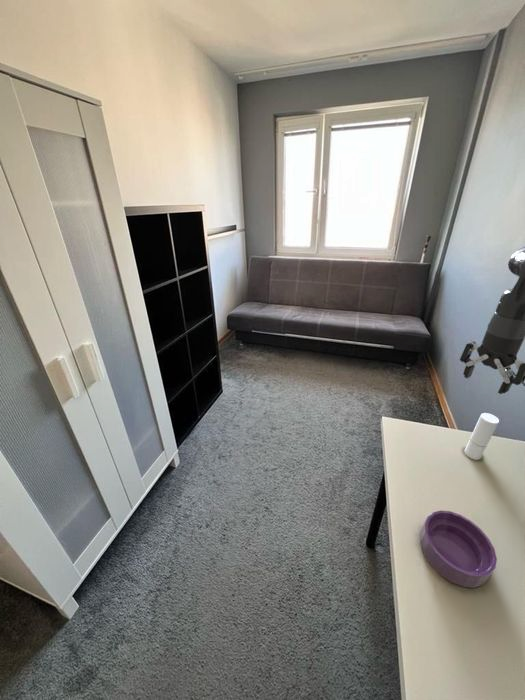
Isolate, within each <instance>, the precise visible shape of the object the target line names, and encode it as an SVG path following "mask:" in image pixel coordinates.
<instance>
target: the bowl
mask: <svg viewBox="0 0 525 700" xmlns="http://www.w3.org/2000/svg"><path fill="white" fill-rule="evenodd" d="M419 545H420V547H421V550H422V553H423V555H424V557H425V558H426V560H427V562H428V563H429V564H430V565H431V567H432V568H433V569H434V570H435V571H436V572H437V573H438V574H439V575H440V576H442V577H443V578H445V579H446V580H447V581H449V582H451V583H453V584H456V585H458V586H459V587H464V588H471V589H472V588H477V587H481V586H482V585H484V583H486V581H487V580H488V579H489V577H490V576H491V575H492V574H493V572H494V570H496V568H497V561H498V558H497V554H496V550H495V547H494V545H493V544H492V542H491V540H490V538H489V537H488V536H487V535H486V534H485V532H484V531H483V530H482V529H481V528H480V527H479V526H478V525H476V523H474V522H473V521H472V520H471V519H469V518H467V517H465V516H463V515H462V514H460V513H457V512H454V511H451V510H442V509H441V510H437V511H433V512H431V513H430V514H429V515H428V516H427V517H426V519H425V522H424V523H423V526H422V528H421V531H420V533H419Z"/></svg>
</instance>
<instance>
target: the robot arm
mask: <svg viewBox="0 0 525 700" xmlns="http://www.w3.org/2000/svg"><path fill="white" fill-rule="evenodd" d="M507 268H508V270H509V271H510V272H511V274H513V275H514V276H516V277H518V279H517V281H516V283H515V284H514V286H513V287H512V288H508V289H506V290H505V291H504V292H502V295H500V296H501V297H500V298H499V301H498V304H497V306H496V309H495V311H494V313H493V315H492V316H491V318H490V321H489V322H488V324H487V328H486V331H485V333H484V336H483V339H482V341H481V344H477V342H476V341H471V342H468V343H466V344H465V347H464V348H463V351H462V354H461V356H460V359H459V361H460V362H461V363H464V364H465V367H464V370H463V375H464V376H463V378H465V379H469V378H471V376H472V374H473V372H474V370H475V367H476V364H478V363H480V362H481V363H482V365H484V366H486V367H490V368H491V369H493V370H498V373H499V375H500V376H501V377H502V379H503V381H502V383H501V385H500V387H499V389H498V391H497V394H500V395H502V394H506V393H508V392H509V391H510V389H511V388H512V385H513V384H514V385H516V386H519V385H521V384H522V385H523V386H524V387H525V361H524V360H520V359H518V356H517V355H518V353H519V351H520V350H521V347H522V345H523V343H524V341H525V246H523V247H521V248H520V249H518V250H516V251H515V252H514V253H513V254H512V255H511V256H510V257H509V260H508V262H507ZM475 351H476V352H477V355H478V357H476V358H473V359H471V356H472V353H473V352H475ZM512 365H515V368H516V369H517V372H516V373H515V371H514V370H513V368H512Z"/></svg>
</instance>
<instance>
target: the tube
mask: <svg viewBox="0 0 525 700" xmlns="http://www.w3.org/2000/svg"><path fill="white" fill-rule="evenodd" d="M499 422H500V419H499V418H498V417H497V416H495V415H494V414H492V413H488V412H482V413H481V414H480V416H479V418H478V420H477V422H476V424H475V427H474V429H473V431H472V432H471V435H470V438H469V440H468V442H467V444H466V447H465V449H464V453H465V456H467V457H468V458H470V459H472V460H475V461H476V460H481V458H482V456H483V455H484V453H485V452H486V448H487V447H488V444H489V443H490V440H491V439H492V436H493V435H494V432H495V431H496V429H497V427H498V424H499Z"/></svg>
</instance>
